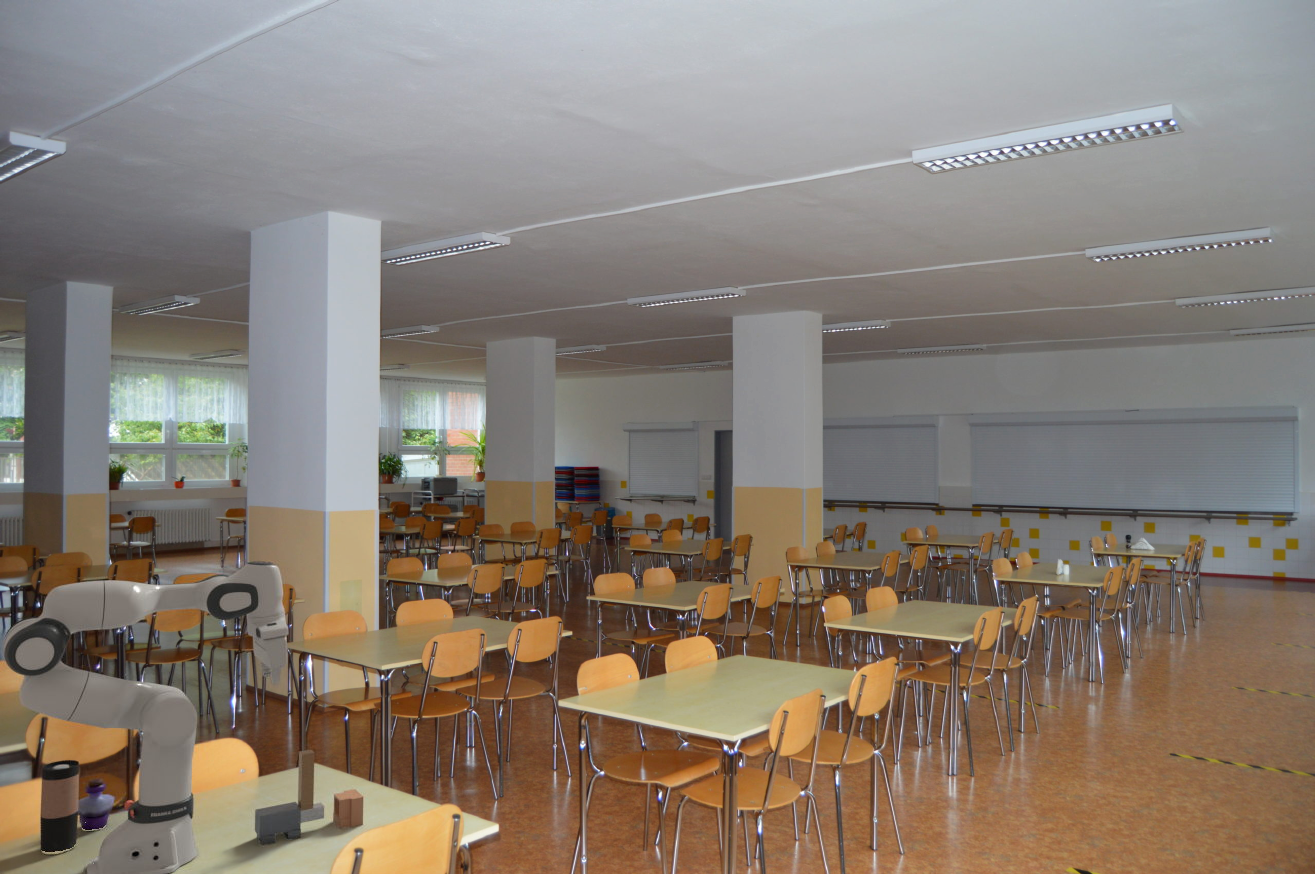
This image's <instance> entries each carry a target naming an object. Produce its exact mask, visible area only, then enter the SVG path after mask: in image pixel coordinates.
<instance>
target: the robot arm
mask: <svg viewBox="0 0 1315 874" xmlns="http://www.w3.org/2000/svg"><path fill="white" fill-rule="evenodd" d="M281 574H282V573H281V571H280V567H278V566H277V564H275V563H273V562H271V561H270V562H269V561H261V560H260V561H259V560H257V561H255V560H254V561H249V562H246V563H245V564H244V565H243V566H242V567H241V568H240V569H238V570H237V571H236V572H234V573H233V574H231V575H228V574H225V573H224V574H223V573H222V574H221V573H219V574H218V573H217V574H214V575H210V576H208V577H205V578H204V579H201V580H199V581H194V582H190V583H189V582H188V583H187V582H186V583H171V584H170V583H168V584H167V583H166V584H150V583H149V584H148V583H143V582H142V583H141V582H135V581H128V580H117V579H116V580H112V579H111V580H109V579H107V580H89V581H82V582H75V583H68V584H64V585H59V586H56V587H54V588H52V589H51V590H50V591H49V593H47V595H46V597H45V599H44V602H43V606H42V607H43V608H42V612H41V614H40V615H39V616H29V617H25V618H22V619H20V620H18V621H16V622H15V623H14V624H12V626H10V627H9V629H8V630H7V631H6V632H5V636H4V639H3V642H2V655H3V657H4V661H5V663H6V664H7V666H8V667H9V668H10V670H12V671H13V672H14V673H16V674H19V675H21V676H23V680H22V683H21V685H20V689H19V695H18V696H19V701H20V704H21V705H22V706H23V707H25V708H26V709H28V710H31V711H34V713H35V712H36V713H38V714H41V715H44V716H47V717H50V718H54V719H58V720H62V721H65V722H70V723H76V724H81V725H86V726H92V727H96V728H101V729H124V730H135V731H141V732H142V744H141V753H140V754H141V755H140V763H139V768H138V795H137V797H138V798H137V800H136V801H135V802H134V801H133V800H131V799H129V800H126V802H125V803H124V805H123V806H124V809H125V811H126V812H127V819H126V820H125V821H124V822H123V823H121V824H120V825H119V826H117V827H116V828H115V829H114V830H112V831H111V832H110V833H109V834H108V835H106V836H105V838H104V839H103V840H102V842H101V845H100V848H99V851H98V856H96V857H93V858H92V859H91V860H90V861H89V862H88V864H87V866H86V871H87V873H86V874H171V873H174V872H175V871H176V870H177V869H178V868H179V867H181V866H184V865H185V864H187V863H189V862H190V861H192V860H193V859H195V858H196V857H197V855H198V853H199V852H198V847H197V846H196V840H195V836H194V829H193V817H194V810H195V807H194V805H195V798H194V794H193V792H192V788H193V787H192V785H193V784H192V780H193V779H192V778H193V759H194V758H193V757H194V751H195V745H196V744H195V743H196V738H197V726H198V725H197V724H198V712H197V709H196V708H195V706H194V704H193V703H192V701H191V700H190V699H189V697H188V696H187V695H186V694H185V693H184V691H182V690H181V689H180V688H178V687H175V686H172V685H171V686H170V685H165V684H159V683H154V682H153V683H152V682H145V681H140V680H139V681H138V680H130V679H129V680H128V679H123V678H120V677H119V678H118V677H115V676H109V675H106V674H101V673H97V672H93V671H89V670H83V669H79V668H75V667H72V666H69V665H67V664H65V663H63V661H62V659H63V656H64V654H65V652H66V649H67V647H68V643H69V642H70V640H71V637H72V634H75V633H78V632H82V631H94V630H95V631H97V630H98V631H100V630H111V629H112V630H113V629H119V628H124V627H129V626H133V625H135V624H137V623H140V621H142V619H144V618H145V617H147V616H149V615H151V614H154V613H156V612H164V611H165V612H166V611H178V610H189V609H190V610H191V609H194V610H195V609H196V610H199V611H200V610H201V611H204V612H206V613H208V614H209V615H210V616H212V617H213V618H215V619H217V620H219V621H230V620H233V619H237V618H240V617H243V616H246V622H247V623H246V624H247V635H248V636H250V637H252V648H253V653H254V657H256V658H257V659H258V660H259V663H260V666H261V673H262V677H264V678H269V677H270V681H271V684H272V685H274V686H275V685H279V684H280V683H281V673H282V672H281V671H282V669H284V668H285V667H286V666H287V663H288V644H287V643H288V642H287V639H288V638H287V636H288V635H289V626H288V623H287V619H286V611H285V607H284V604H283V597H284V587H283V580H282V579H283V578H282V575H281ZM93 863H94V864H93Z"/></svg>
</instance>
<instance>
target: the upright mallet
mask: <svg viewBox="0 0 1315 874" xmlns="http://www.w3.org/2000/svg"><path fill="white" fill-rule="evenodd" d="M297 784H298V785H297V786H298V787H297V789H298V790H297V804H298V805H299V806H300V808H301V824H303V823H307V822H308V823H309V822H311V821H316V820H321V819H325V805H324V804H323V803H322V802H318V803H314V798H315V797H314V795H315V794H314V793H315V791H314V789H315V751H314V750H312V749H307V750H301V751H300V750H299V751H298V783H297Z"/></svg>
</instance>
